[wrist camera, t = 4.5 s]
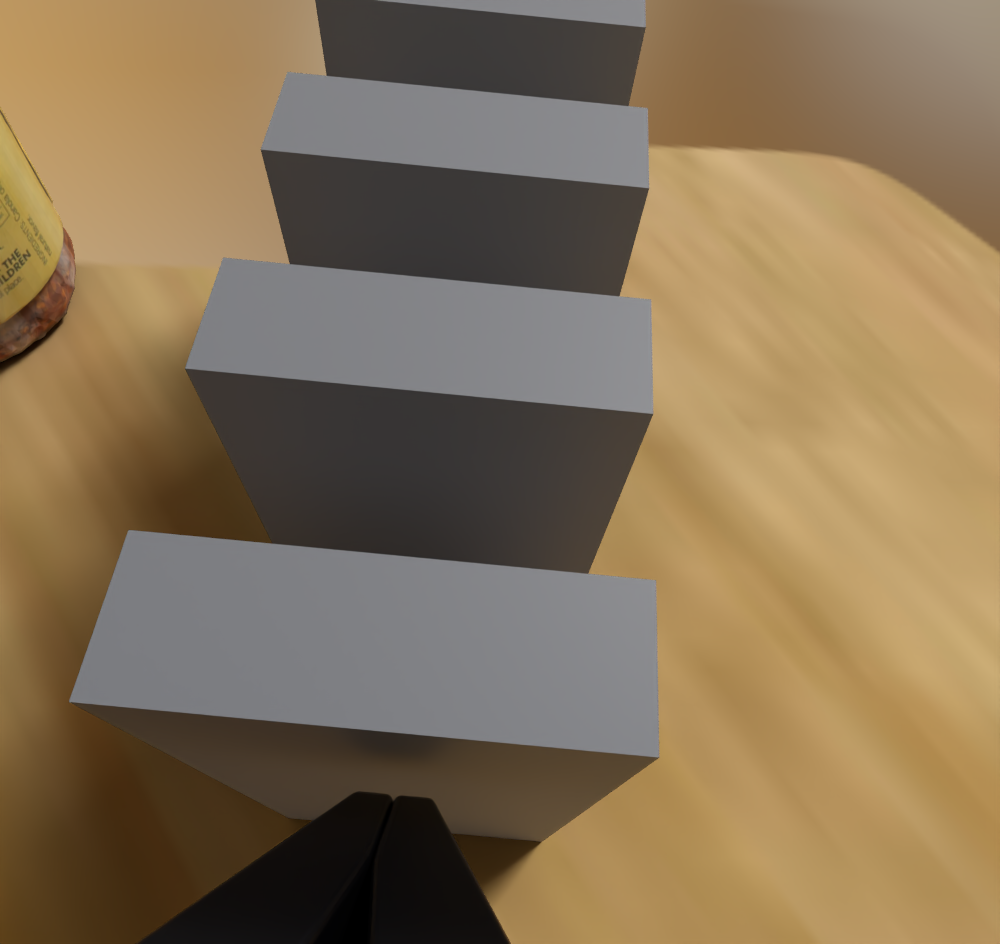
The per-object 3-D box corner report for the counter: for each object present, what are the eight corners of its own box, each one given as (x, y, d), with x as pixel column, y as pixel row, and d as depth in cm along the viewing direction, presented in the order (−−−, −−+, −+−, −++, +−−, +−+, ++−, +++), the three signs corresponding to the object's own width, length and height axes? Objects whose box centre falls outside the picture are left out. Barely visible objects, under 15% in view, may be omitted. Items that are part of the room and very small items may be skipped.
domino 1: (563, 401, 20) (645, 27, 12) (373, 383, 20) (314, -6, 12) (566, 353, 21) (644, -32, 12) (383, 335, 21) (333, -63, 12)
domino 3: (550, 665, 17) (653, 413, 8) (322, 643, 17) (185, 368, 8) (553, 596, 18) (650, 299, 9) (336, 575, 18) (222, 257, 9)
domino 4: (541, 841, 15) (659, 757, 7) (288, 817, 15) (68, 701, 7) (545, 756, 16) (655, 579, 7) (305, 733, 16) (127, 529, 7)
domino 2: (557, 521, 19) (648, 187, 10) (350, 501, 19) (260, 149, 10) (560, 464, 20) (647, 108, 11) (361, 444, 19) (287, 72, 11)
